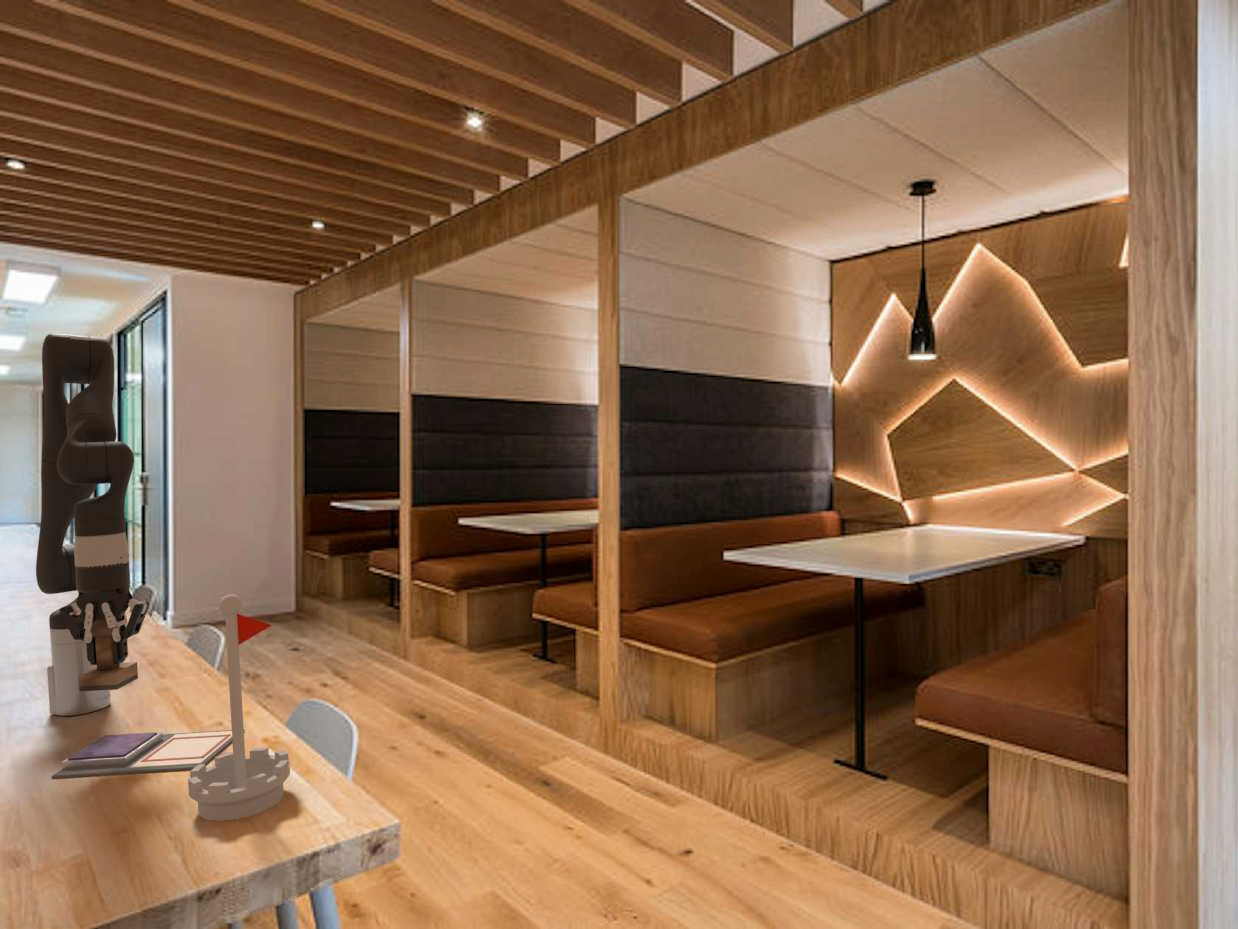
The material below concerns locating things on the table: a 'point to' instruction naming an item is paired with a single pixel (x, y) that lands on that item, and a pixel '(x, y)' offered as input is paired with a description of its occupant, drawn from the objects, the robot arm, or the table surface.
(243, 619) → the flag stand
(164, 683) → the table surface
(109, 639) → the stamp
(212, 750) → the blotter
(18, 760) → the table surface
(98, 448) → the robot arm
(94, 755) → the ink pad
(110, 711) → the table surface
